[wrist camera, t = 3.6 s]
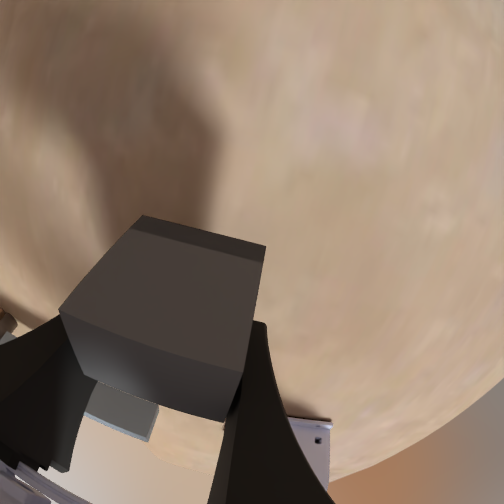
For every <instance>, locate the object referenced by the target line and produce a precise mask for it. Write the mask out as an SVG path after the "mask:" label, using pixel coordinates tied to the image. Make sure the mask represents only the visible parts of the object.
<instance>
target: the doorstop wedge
mask: <svg viewBox="0 0 504 504" xmlns="http://www.w3.org/2000/svg"><path fill="white" fill-rule="evenodd" d="M265 250H266V246H264V245H260V244H256V243H252V242H248V241H244V240H240V239H236V238H232V237H228V236H224V235H220V234H216V233H212V232H208V231H204V230H200V229H196V228H192V227H188V226H184V225H180V224H176V223H172V222H168V221H164V220H160V219H156V218H152V217H148V216H144V215H142V216H141V217H140V218H139V219H138V220H137V221H136V222H135V223H134V224H133V225H132V226H131V227H130V228H129V229H128V230H127V231H126V232H125V233H124V234H123V236H122V237H121V238H120V239H119V240H118V241H117V242H116V243H115V244H114V245H113V246H112V247H111V248H110V249H109V250H108V252H107V253H106V254H105V255H104V256H103V257H102V258H101V259H100V260H99V261H98V263H97V264H96V265H95V266H94V267H93V268H92V269H91V270H90V272H89V273H88V274H87V275H86V276H85V277H84V279H83V280H82V281H81V282H80V283H79V284H78V286H77V287H76V288H75V289H74V290H73V292H72V293H71V294H70V295H69V297H68V298H67V299H66V300H65V301H64V303H63V304H62V305H61V306H60V308H59V309H58V310H59V313H60V316H61V319H62V322H63V324H64V327H65V330H66V333H67V335H68V338H69V340H70V343H71V345H72V348H73V350H74V353H75V355H76V357H77V360H78V362H79V364H80V366H81V369H82V371H83V373H84V375H86V376H88V377H90V378H93V379H95V380H97V381H99V382H102V383H104V384H106V385H109V386H111V387H113V388H116V389H118V390H121V391H123V392H126V393H128V394H131V395H133V396H136V397H139V398H141V399H144V400H147V401H150V402H153V403H156V404H159V405H162V406H165V407H168V408H171V409H174V410H177V411H181V412H184V413H187V414H191V415H195V416H198V417H202V418H206V419H210V420H214V421H218V422H222V423H224V421H225V418H226V416H227V413H228V411H229V408H230V406H231V403H232V400H233V398H234V395H235V392H236V390H237V387H238V385H239V382H240V379H241V377H242V374H243V370H244V365H245V360H246V354H247V349H248V344H249V338H250V333H251V328H252V322H253V317H254V311H255V306H256V300H257V295H258V289H259V284H260V278H261V273H262V267H263V261H264V256H265Z"/></svg>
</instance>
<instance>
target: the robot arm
mask: <svg viewBox="0 0 504 504" xmlns="http://www.w3.org/2000/svg"><path fill="white" fill-rule="evenodd" d="M97 382H98V381H97V380H95V379H93V378H90V377H88V376H86V375H84V373H83V371H82V369H81V366H80V364H79V362H78V360H77V357H76V355H75V353H74V350H73V348H72V345H71V343H70V340H69V338H68V335H67V333H66V330H65V327H64V324H63V322H62V319H61V316H60V314H59V315H58V316H56V317H55V318H53V319H51V320H50V321H48V322H46V323H45V324H43V325H41V326H39V327H38V328H36V329H34V330H32V331H30V332H28V333H26V334H24V335H22V336H20V337H18V338H15V339H13V340H11V341H8V342H6V343H4V344H1V345H0V504H51V501H50V500H49V499H48V498H47V497H49V498H51V499H52V500H54V501H55V502H57V503H59V504H92V503H90V502H88V501H86V500H84V499H82V498H80V497H78V496H76V495H74V494H73V493H71V492H69V491H67V490H65V489H64V488H62V487H60V486H58V485H57V484H55V483H53V482H52V481H50V480H48V479H47V478H45V477H44V476H42V475H41V474H39V473H38V472H37V471H38V469H39V467H41V468H42V469H44V470H46V471H47V470H48V468H49V466H51V467H53V468H54V469H56V470H58V471H59V472H61V473H64V472H68V471H69V468H70V463H71V458H72V453H73V448H74V445H75V440H76V437H77V433H78V430H79V427H80V424H81V421H82V418H83V415H84V412H85V409H86V407H87V404H88V402H89V399H90V397H91V394H92V392H93V390H94V388H95V386H96V384H97ZM332 427H333V423H332V422H325V421H315V420H307V419H299V418H292V417H287V415H286V412H285V409H284V407H283V404H282V400H281V397H280V394H279V391H278V387H277V384H276V380H275V376H274V371H273V367H272V363H271V358H270V352H269V346H268V338H267V326H266V324H265V323H262V322H258V321H254V320H253V322H252V328H251V333H250V338H249V344H248V349H247V354H246V360H245V365H244V370H243V374H242V377H241V379H240V382H239V385H238V387H237V390H236V392H235V395H234V398H233V400H232V403H231V406H230V408H229V411H228V413H227V416H226V423H225V430H224V436H223V441H222V446H221V450H220V454H219V458H218V462H217V467H216V471H215V475H214V479H213V483H212V487H211V491H210V495H209V499H208V503H207V504H335V503H334V501H333V500H332V499H331V497H330V496H329V495H328V493H327V488H328V483H329V464H330V429H331V428H332ZM15 475H17V476H18V477H20V478H21V479H22V480H24V481H25V482H26V483H28V484H29V485H31V486H32V487H34V488H35V489H34V488H32V487H31V486H29V485H27V484H26V483H24V482H22V481H20V480H18V479H16V478H15ZM36 489H37V490H36ZM39 491H40V492H41V493H40V492H39ZM42 493H43V494H44V495H46V496H47V497H45V496H44V495H43V494H42Z"/></svg>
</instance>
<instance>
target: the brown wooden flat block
mask: <svg viewBox="0 0 504 504" xmlns="http://www.w3.org/2000/svg"><path fill="white" fill-rule="evenodd" d="M16 327H17V322H16V320H15V319H14V318H13V317H12V316H11V315H10V314H9V313H6V314H5V313H4V311H3V310H2V309H1V308H0V340H1V338H2V337H3V336H4V334H5V333H6V332H7V331H8V332H9V333H12V332H13V331H14V329H15V328H16Z"/></svg>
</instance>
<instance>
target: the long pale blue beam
mask: <svg viewBox="0 0 504 504" xmlns="http://www.w3.org/2000/svg"><path fill="white" fill-rule="evenodd" d="M15 338H17V337H15V336H14V335H12V334H11V333H9V332H8V331H7V332H6V333H5V334H4V336H3V337H2V338H1V340H0V345H1V344H4V343H6V342H8V341H11V340H13V339H15ZM158 413H159V406H158V404H155V403H152V402H149V401H146V400H143V399H141V398H138V397H135V396H133V395H130V394H127V393H125V392H122V391H120V390H117V389H115V388H113V387H110V386H108V385H106V384H103V383H101V382H99V381H98V382H97V384H96V386H95V388H94V390H93V392H92V394H91V397H90V399H89V402H88V404H87V407H86V409H85V412H84V416H86V417H89V418H90V419H93V420H95V421H97V422H99V423H101V424H104V425H105V426H108V427H110V428H112V429H115V430H117V431H120V432H122V433H124V434H127V435H130V436H132V437H134V438H137V439H140V440H143V441H145V442H148V441H149V438H150V435H151V433H152V430H153V427H154V424H155V421H156V418H157V416H158Z"/></svg>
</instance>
